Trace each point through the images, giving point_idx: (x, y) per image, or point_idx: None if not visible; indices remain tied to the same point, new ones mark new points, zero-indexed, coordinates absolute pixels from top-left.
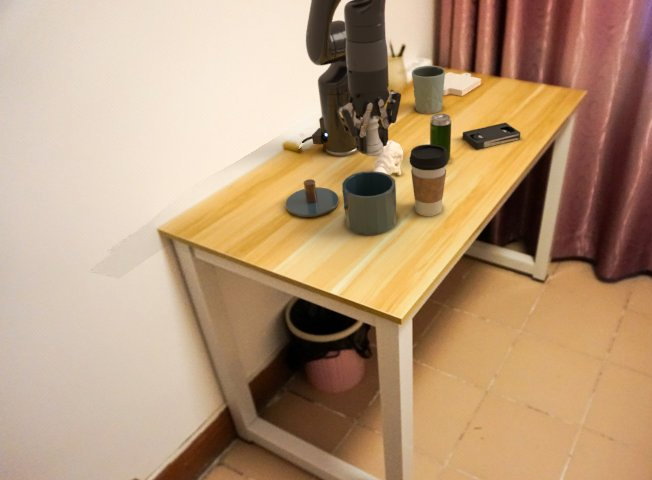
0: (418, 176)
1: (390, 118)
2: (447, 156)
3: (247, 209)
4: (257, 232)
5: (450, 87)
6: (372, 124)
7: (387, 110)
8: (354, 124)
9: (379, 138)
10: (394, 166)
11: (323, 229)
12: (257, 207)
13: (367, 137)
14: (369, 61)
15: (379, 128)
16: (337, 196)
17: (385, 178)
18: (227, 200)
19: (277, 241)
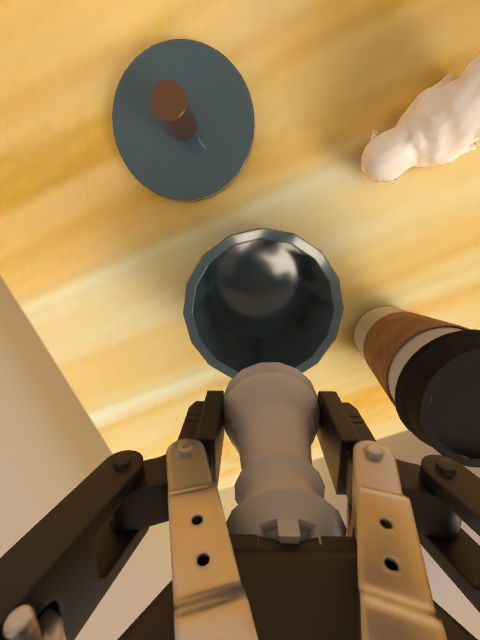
0: (389, 386)
1: (424, 537)
2: None
3: (28, 22)
4: (24, 157)
5: None
6: None
7: (476, 526)
8: (168, 487)
9: (324, 417)
10: (452, 159)
11: (157, 249)
12: (55, 32)
13: (240, 460)
14: None
15: (339, 459)
16: (247, 152)
17: (329, 300)
18: None
19: (53, 223)
